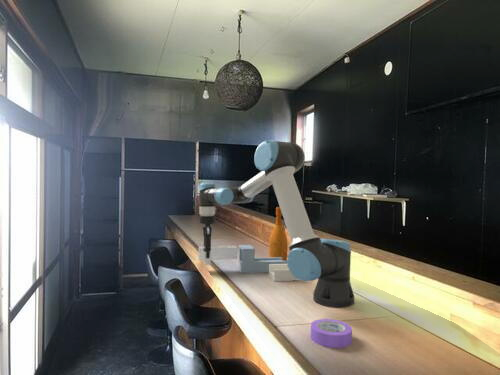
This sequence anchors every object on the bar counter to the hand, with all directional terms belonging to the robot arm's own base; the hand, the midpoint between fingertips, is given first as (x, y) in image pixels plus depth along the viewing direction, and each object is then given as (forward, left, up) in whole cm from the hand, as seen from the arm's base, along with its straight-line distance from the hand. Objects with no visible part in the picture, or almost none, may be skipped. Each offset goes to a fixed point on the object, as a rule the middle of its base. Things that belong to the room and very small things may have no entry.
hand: (207, 263), depth 180 cm
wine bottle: (+15, -39, -4) cm, 42 cm away
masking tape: (-79, -30, -5) cm, 84 cm away
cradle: (-15, -34, -4) cm, 37 cm away
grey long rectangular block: (0, -5, +2) cm, 6 cm away
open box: (0, -27, -4) cm, 28 cm away
